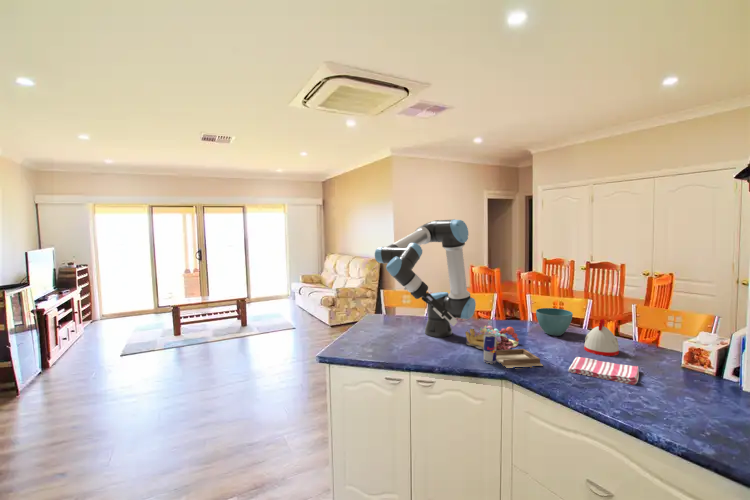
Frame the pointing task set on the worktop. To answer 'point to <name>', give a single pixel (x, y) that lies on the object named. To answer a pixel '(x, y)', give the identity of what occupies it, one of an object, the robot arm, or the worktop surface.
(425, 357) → the worktop surface
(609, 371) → the dish towel
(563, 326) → the teal bowl
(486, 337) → the energy drink
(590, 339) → the white red-trimmed dome
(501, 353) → the brown flat tray
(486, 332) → the food platter
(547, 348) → the worktop surface
